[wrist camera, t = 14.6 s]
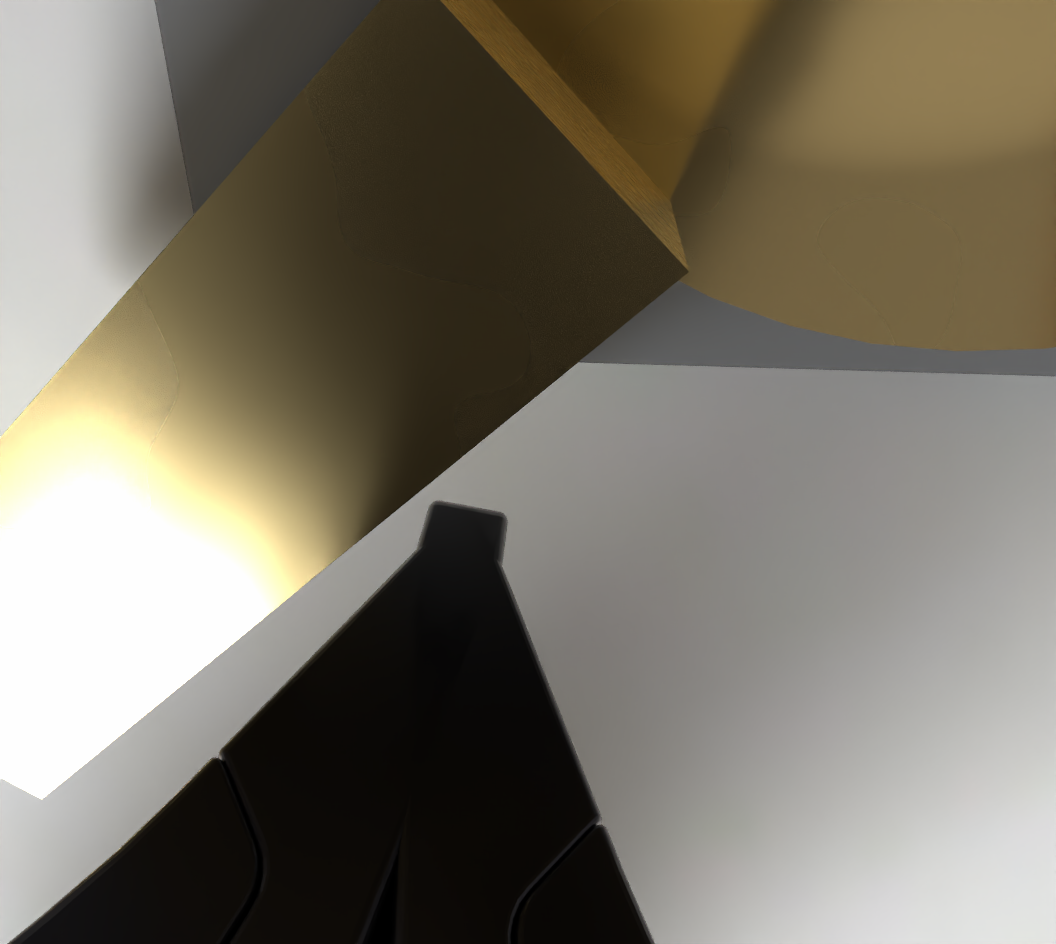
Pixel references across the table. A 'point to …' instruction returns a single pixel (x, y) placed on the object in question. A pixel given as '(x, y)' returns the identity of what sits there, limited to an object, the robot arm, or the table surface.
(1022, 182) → the gold low rounded piece
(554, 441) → the table surface
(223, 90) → the nut base
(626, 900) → the robot arm
